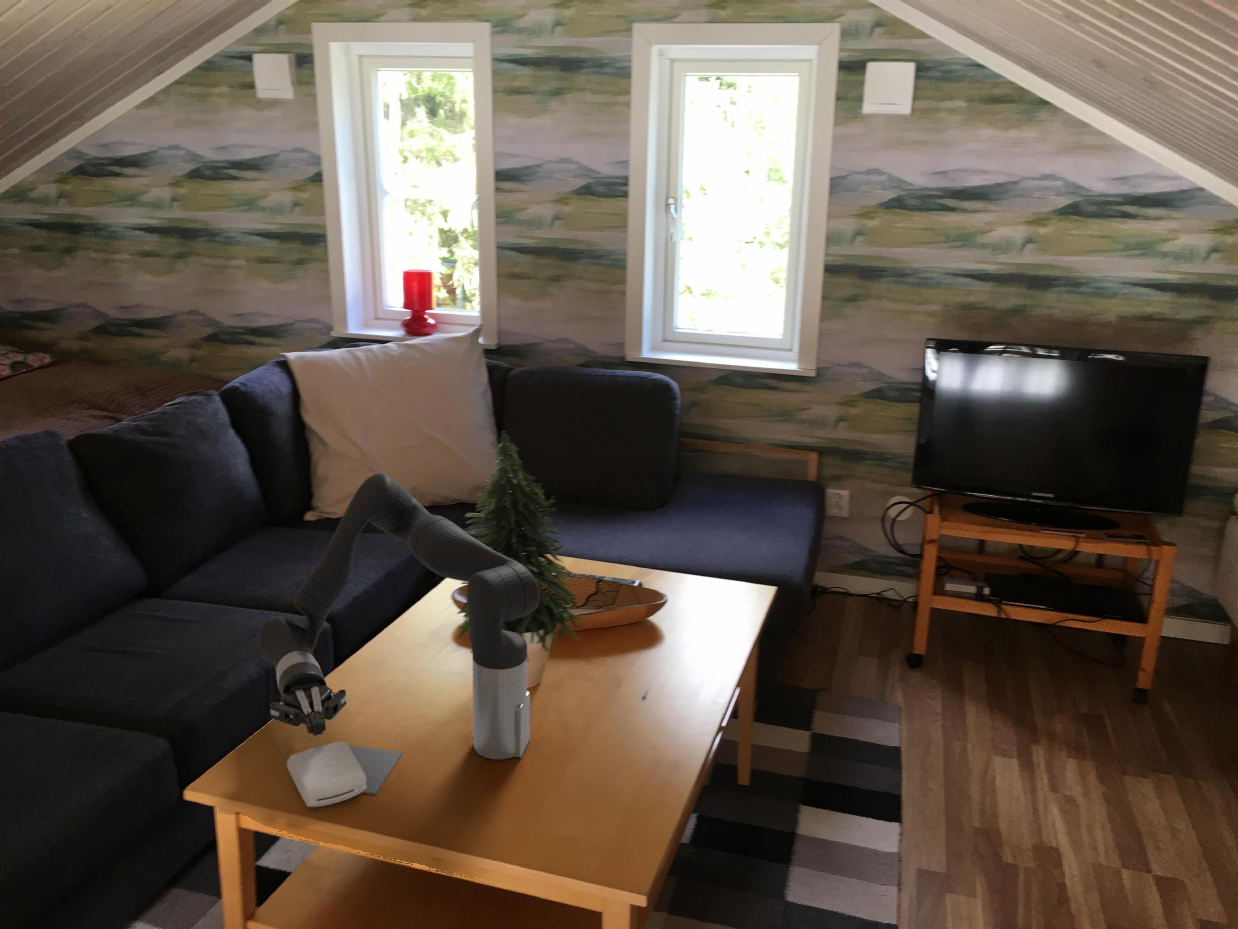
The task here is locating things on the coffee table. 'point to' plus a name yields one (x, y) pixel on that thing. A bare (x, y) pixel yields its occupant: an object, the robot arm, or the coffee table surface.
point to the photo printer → (327, 774)
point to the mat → (375, 765)
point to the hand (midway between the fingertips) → (318, 730)
